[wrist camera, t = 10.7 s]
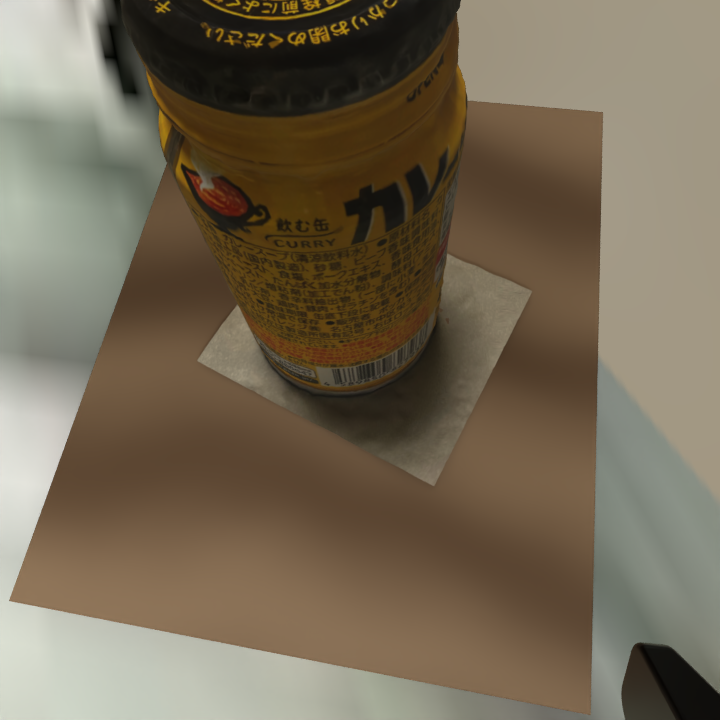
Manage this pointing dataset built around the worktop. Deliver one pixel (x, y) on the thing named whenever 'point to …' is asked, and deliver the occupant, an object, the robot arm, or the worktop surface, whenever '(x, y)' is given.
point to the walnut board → (353, 461)
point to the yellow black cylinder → (332, 208)
